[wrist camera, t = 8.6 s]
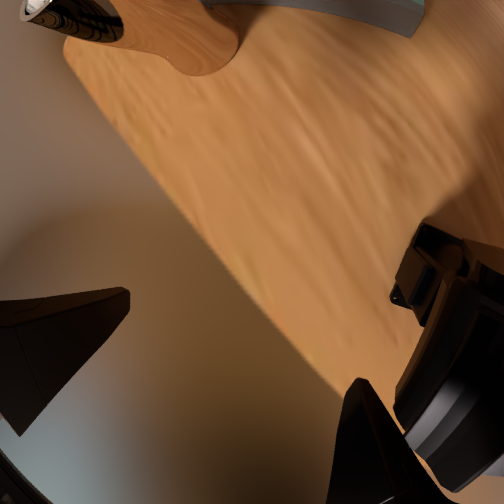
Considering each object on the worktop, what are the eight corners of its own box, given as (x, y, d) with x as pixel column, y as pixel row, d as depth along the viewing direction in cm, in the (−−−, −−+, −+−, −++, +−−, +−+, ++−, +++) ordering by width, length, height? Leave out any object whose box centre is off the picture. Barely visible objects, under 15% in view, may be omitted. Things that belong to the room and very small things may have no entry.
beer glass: (176, 18, 16) (52, -51, 2) (251, 11, 15) (151, -109, 1) (160, 83, 19) (2, 45, 5) (237, 82, 17) (83, -16, 3)
